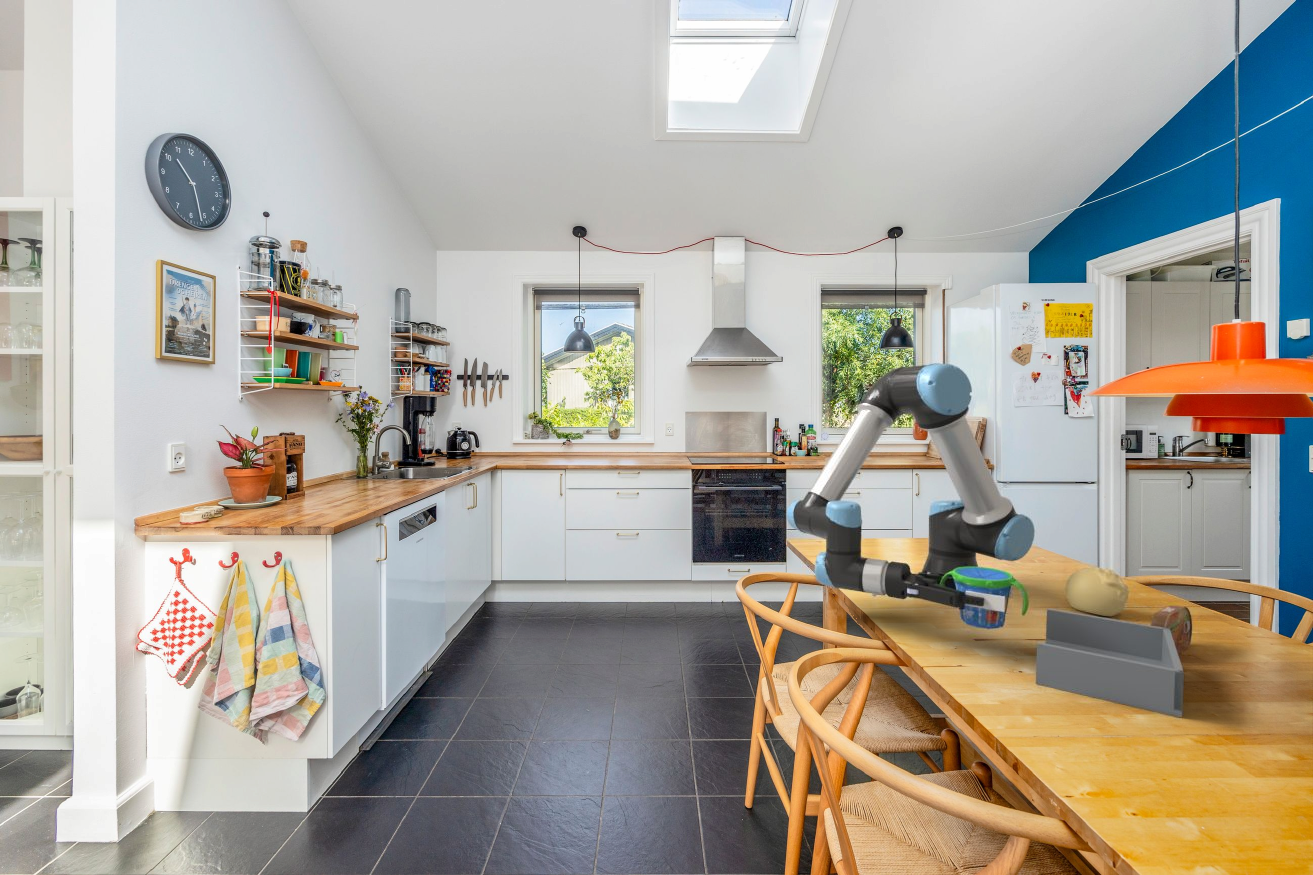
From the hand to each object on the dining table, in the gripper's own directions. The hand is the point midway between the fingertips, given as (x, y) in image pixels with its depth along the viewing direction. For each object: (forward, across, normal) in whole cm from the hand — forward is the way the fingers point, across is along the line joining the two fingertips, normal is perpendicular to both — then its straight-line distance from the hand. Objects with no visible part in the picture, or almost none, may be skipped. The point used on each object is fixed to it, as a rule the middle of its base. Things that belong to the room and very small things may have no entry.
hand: (1008, 597), depth 116 cm
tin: (+26, -22, -12) cm, 36 cm away
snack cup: (-4, 0, -6) cm, 8 cm away
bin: (+16, 0, -11) cm, 19 cm away
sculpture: (+14, -42, -12) cm, 46 cm away
